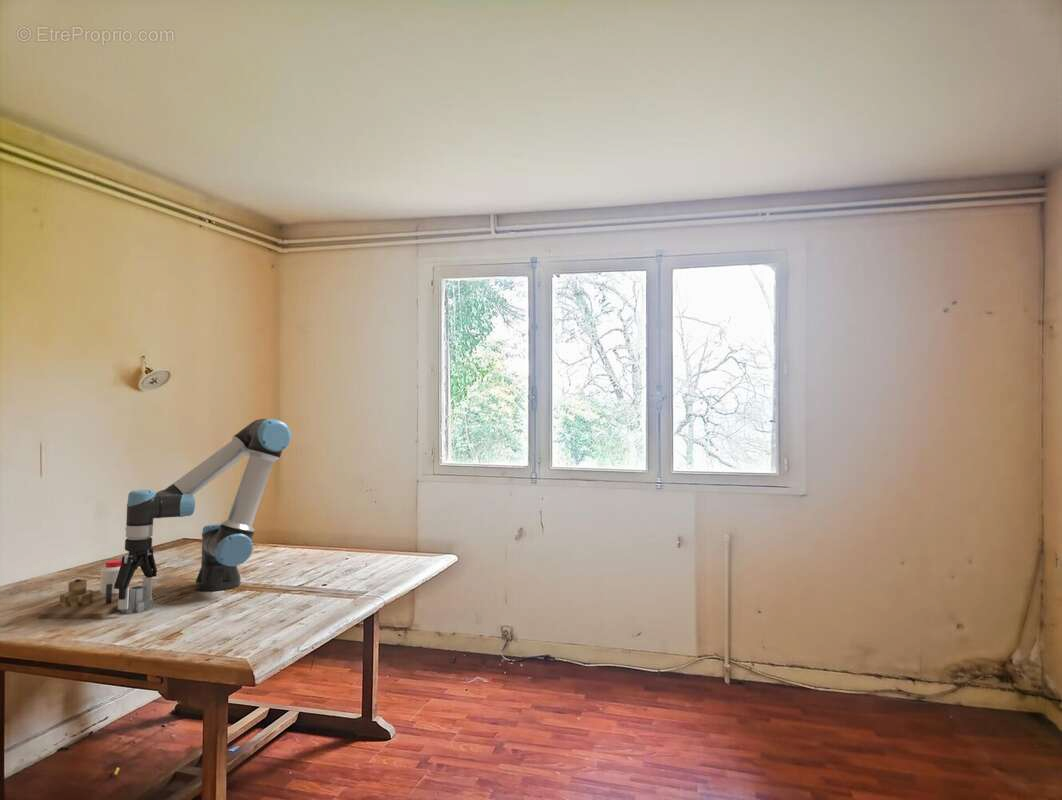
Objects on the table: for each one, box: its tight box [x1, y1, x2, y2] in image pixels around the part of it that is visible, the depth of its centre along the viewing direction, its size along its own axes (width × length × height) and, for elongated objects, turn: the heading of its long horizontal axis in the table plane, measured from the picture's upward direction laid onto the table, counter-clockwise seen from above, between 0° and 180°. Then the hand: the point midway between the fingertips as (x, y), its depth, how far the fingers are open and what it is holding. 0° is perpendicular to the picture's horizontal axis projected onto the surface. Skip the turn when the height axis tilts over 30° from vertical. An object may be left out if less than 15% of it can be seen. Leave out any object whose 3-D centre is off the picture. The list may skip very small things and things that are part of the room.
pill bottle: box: [99, 558, 122, 593], centre depth 220 cm, size 8×8×11 cm
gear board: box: [37, 578, 119, 619], centre depth 202 cm, size 19×22×9 cm
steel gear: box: [119, 585, 154, 614], centre depth 201 cm, size 9×9×7 cm
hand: (135, 602), depth 201 cm, fingers open, 13 cm apart
